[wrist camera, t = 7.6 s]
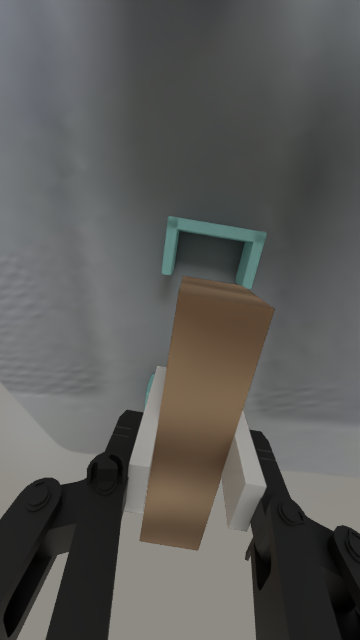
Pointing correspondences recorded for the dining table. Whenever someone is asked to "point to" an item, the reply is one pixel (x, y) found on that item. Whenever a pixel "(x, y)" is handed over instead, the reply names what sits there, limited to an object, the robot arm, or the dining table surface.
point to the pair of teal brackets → (250, 237)
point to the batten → (201, 405)
